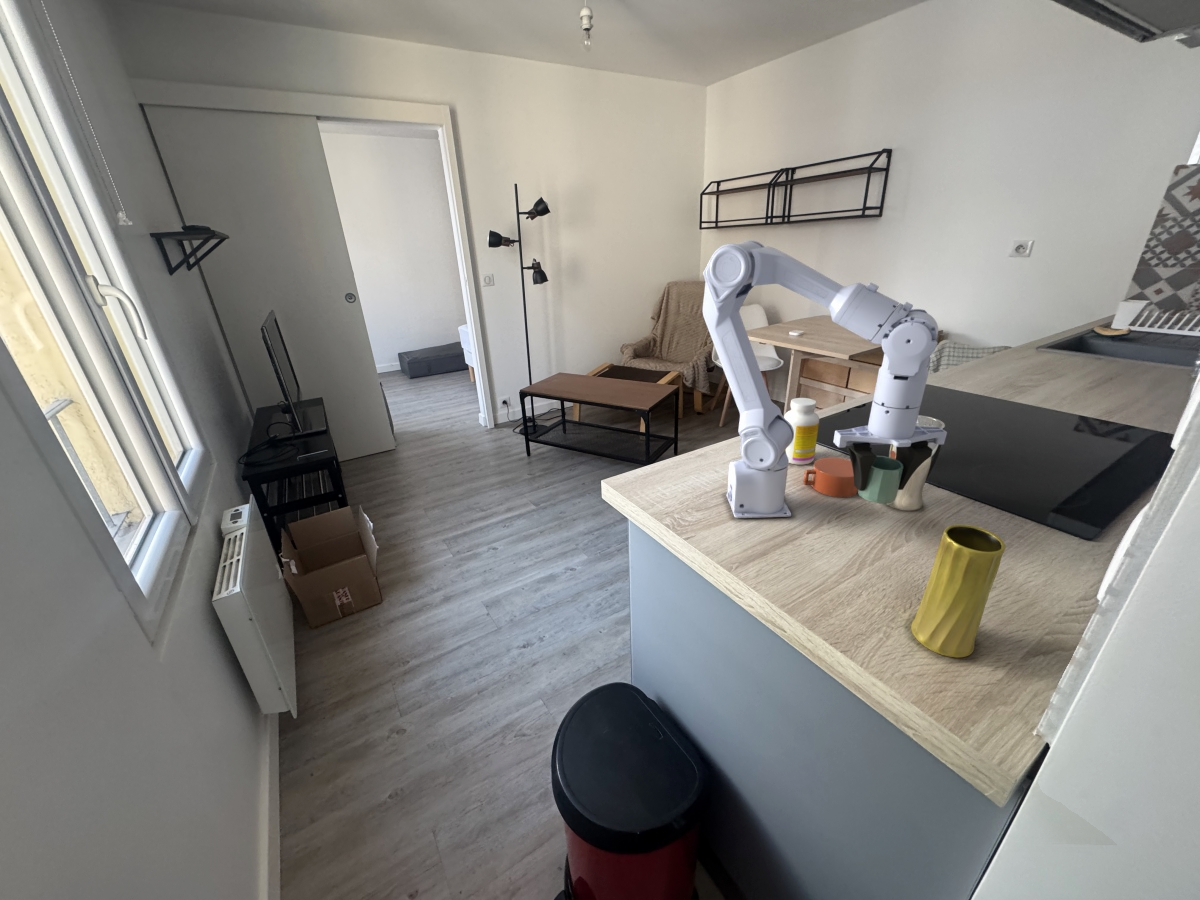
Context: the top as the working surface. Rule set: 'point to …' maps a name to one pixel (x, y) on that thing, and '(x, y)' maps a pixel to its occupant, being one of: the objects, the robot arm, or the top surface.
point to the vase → (958, 590)
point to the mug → (832, 477)
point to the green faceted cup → (883, 480)
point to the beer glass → (917, 472)
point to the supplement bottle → (802, 431)
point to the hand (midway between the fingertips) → (877, 487)
